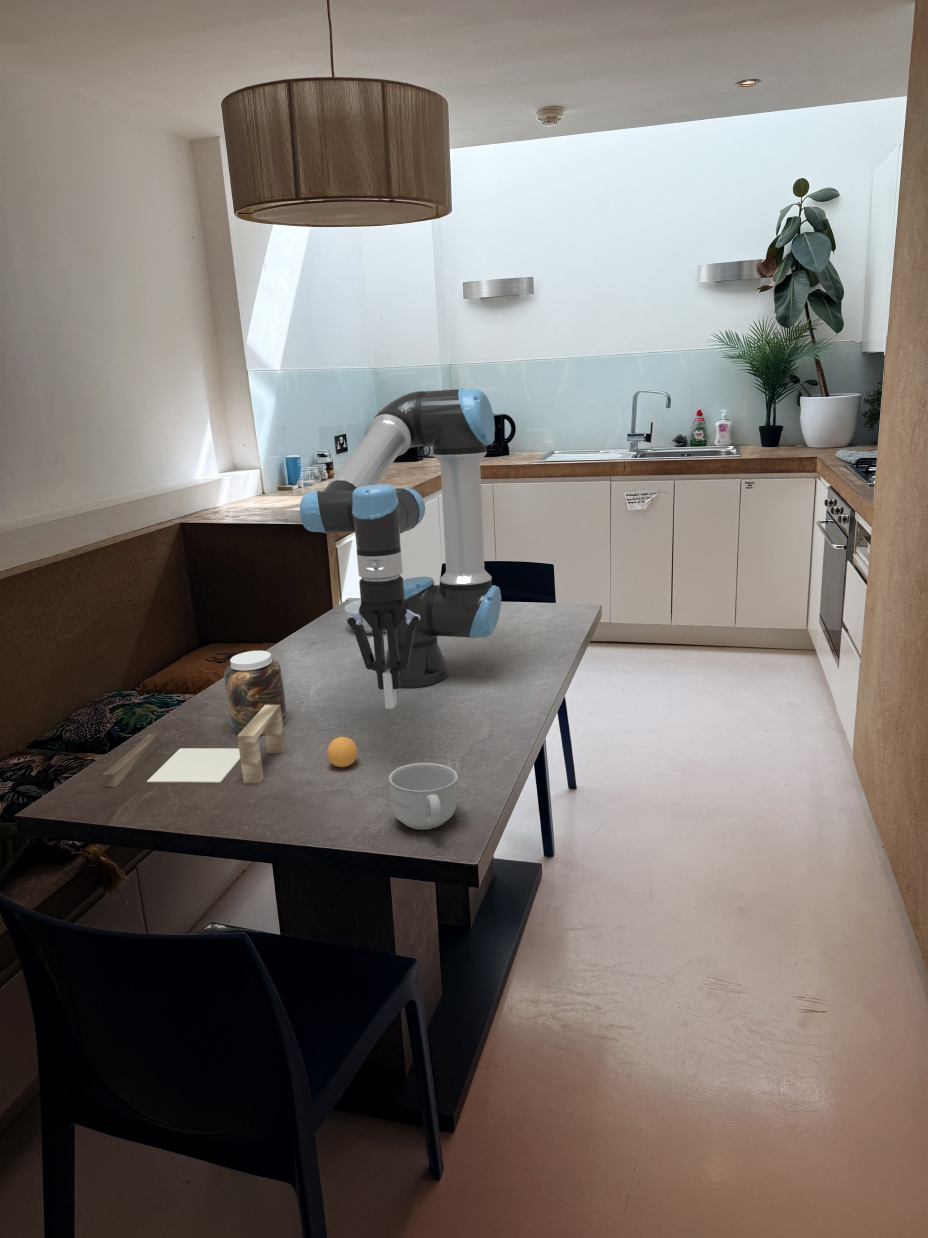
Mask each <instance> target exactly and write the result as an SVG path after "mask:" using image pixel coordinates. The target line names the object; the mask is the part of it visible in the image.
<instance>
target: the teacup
mask: <svg viewBox="0 0 928 1238" xmlns="http://www.w3.org/2000/svg"><path fill="white" fill-rule="evenodd" d="M458 779H459V777H458V773H457V771H456V770H454V768H452V767H450V766H447V765H444V764H441V763H435V762H416V763H410V764H409V763H408V764H406V765H402V766H399V767H397V768H396V769H394V770H393V771H391V773H390V774H389V776H388V782H389V794H390V795H389V796H390V807H391V810H392V813H393V816H394V817H395V819H397V820H398V821H399V822H401V823H403V824H404V825H405V826H406V827H408V828H411V829H414V830H420V831H421V830H422V831H423V830H424V831H425V830H432V828H433V829H436V828H438V826H439V827H440V826H442V825H444V824H445V823H446V822H447V821H448V820H449V819H451V817H452V816H453V815H454V813H455V811H456V808H457V802H458V801H457V799H458V798H457V797H458ZM435 827H436V828H435Z"/></svg>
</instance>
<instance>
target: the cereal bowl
mask: <svg viewBox="0 0 928 1238" xmlns="http://www.w3.org/2000/svg"><path fill="white" fill-rule="evenodd" d="M360 605H361V600H357V601H353V602H350V603H348V604H346V605H345V607H344V617H345V620H346V621H347V620H348V619H349V618H350V616H351V615H355V614H356V613H357V612H359V607H360ZM362 619H363V623H362V624H363V626H364V629H365V632H366V634H369V633H372V628H371V627H370V626H369V624H368V623H367V622H366V621H365V620H364V618H363V617H362ZM384 631H386V630H385V629H383V633H385V632H384Z"/></svg>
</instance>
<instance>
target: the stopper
mask: <svg viewBox="0 0 928 1238" xmlns="http://www.w3.org/2000/svg"><path fill="white" fill-rule="evenodd" d="M161 745H162V743H161V738H160V733H148V734H147V735H146V736H145V737H144V738H142V740H140V741H139V742H138V743H137V744H135V746H134V747H133V748H131V749H130V750H129V751H128V752H127V753H125V755H124V756H122V757H120V759H119V760H118V761H117V762H115V763H114V764H113V765H112V766H111V767H110V768H108V770H106V771H105V772H104V773H102V777H103V781H104V787H105V788H116V787H117V786H119V785H120V784H121V783H122V782H123V781H124V780H126V779H127V777H129V775H130V774H131V773H133V772H134V771H135V770H136V769H137V768H138V767H139V766H140V765H141V764H142V763H144V762H145V760H147V759H148V758H149V757H150V756H151V755H152V754H153V753H154V752H155V751H156V750H157V749H158V748H159V747H161Z"/></svg>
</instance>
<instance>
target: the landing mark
mask: <svg viewBox="0 0 928 1238" xmlns="http://www.w3.org/2000/svg"><path fill="white" fill-rule="evenodd" d="M240 761H241V760H240V752H239V747H238V748H225V747H224V748H222V747H221V748H218V747H217V748H215V747H214V748H210V747H209V748H205V747H204V748H201V747H200V748H199V747H198V748H197V747H196V748H193V747H192V748H191V747H190V748H186V747H185V748H179V749H178V750H177V751H176V752H175V753H174V754H173V755H172V756H171V757H169V758H168V759H167V761H166V762H164V764H163V765H161V767H160V768H158V770H157V771H155V773H153V774H152V775H151V777H149V779H147V780H146V783H210V784H211V783H214V784H216V783H221V782H222V781H223V780H224V779H225V778H226V776H227V775H228V774H229V773H230V772H231V771H232V769H234V767H235V766H236V765H237V763H238V762H240Z"/></svg>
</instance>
